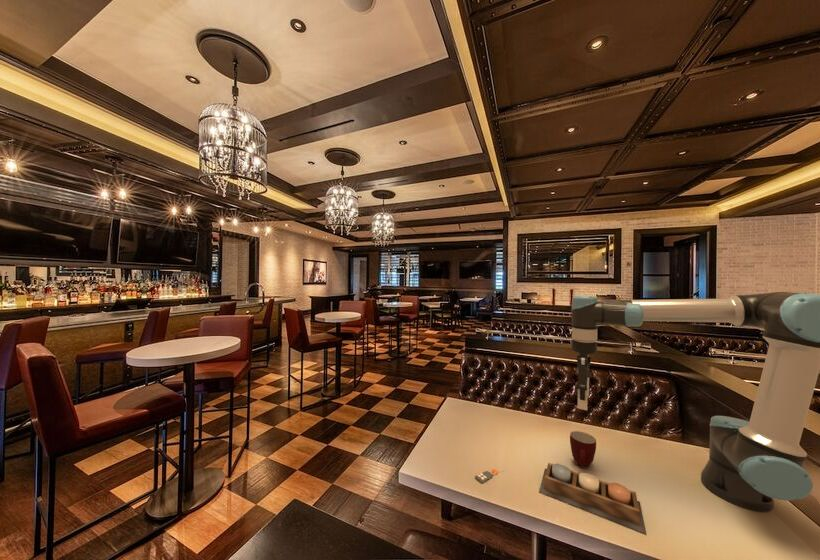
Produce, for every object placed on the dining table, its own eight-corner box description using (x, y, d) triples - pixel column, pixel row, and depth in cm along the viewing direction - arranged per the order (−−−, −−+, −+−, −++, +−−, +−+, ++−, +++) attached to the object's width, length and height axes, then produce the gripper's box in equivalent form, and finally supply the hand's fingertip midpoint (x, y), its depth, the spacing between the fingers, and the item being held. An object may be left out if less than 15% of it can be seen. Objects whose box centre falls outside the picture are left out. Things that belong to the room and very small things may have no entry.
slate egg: (570, 477, 92) (571, 467, 92) (569, 487, 87) (569, 477, 87) (553, 471, 94) (553, 461, 94) (551, 480, 90) (551, 470, 90)
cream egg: (598, 487, 88) (598, 477, 88) (598, 498, 83) (599, 487, 83) (579, 480, 90) (579, 470, 90) (578, 490, 86) (578, 480, 86)
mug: (599, 479, 95) (600, 450, 94) (571, 472, 98) (572, 444, 98) (593, 461, 104) (593, 434, 104) (568, 455, 107) (568, 429, 107)
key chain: (482, 486, 91) (482, 481, 91) (474, 479, 94) (474, 474, 94) (508, 471, 98) (508, 467, 98) (499, 465, 102) (499, 461, 102)
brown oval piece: (629, 498, 83) (629, 487, 83) (631, 510, 79) (631, 498, 79) (607, 490, 86) (608, 480, 86) (608, 501, 82) (608, 490, 82)
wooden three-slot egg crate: (639, 502, 85) (640, 489, 85) (646, 535, 74) (646, 520, 74) (545, 469, 99) (545, 457, 99) (538, 492, 88) (539, 479, 88)
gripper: (574, 333, 110) (574, 387, 110) (568, 345, 90) (567, 412, 90) (597, 335, 106) (597, 392, 106) (596, 349, 85) (595, 419, 85)
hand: (583, 401), depth 98 cm, fingers open, 13 cm apart
